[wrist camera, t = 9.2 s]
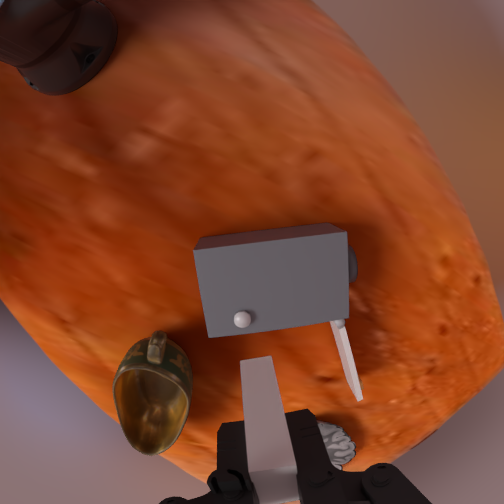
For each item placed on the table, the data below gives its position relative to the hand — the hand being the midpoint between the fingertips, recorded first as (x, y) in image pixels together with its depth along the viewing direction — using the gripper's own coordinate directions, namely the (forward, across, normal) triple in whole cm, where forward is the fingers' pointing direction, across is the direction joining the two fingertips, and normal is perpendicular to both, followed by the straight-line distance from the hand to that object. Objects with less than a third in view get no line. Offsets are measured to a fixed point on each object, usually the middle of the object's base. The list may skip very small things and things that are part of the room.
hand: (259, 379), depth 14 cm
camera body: (+25, +3, -3) cm, 25 cm away
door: (+24, +12, -16) cm, 31 cm away
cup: (+25, -14, -16) cm, 33 cm away
